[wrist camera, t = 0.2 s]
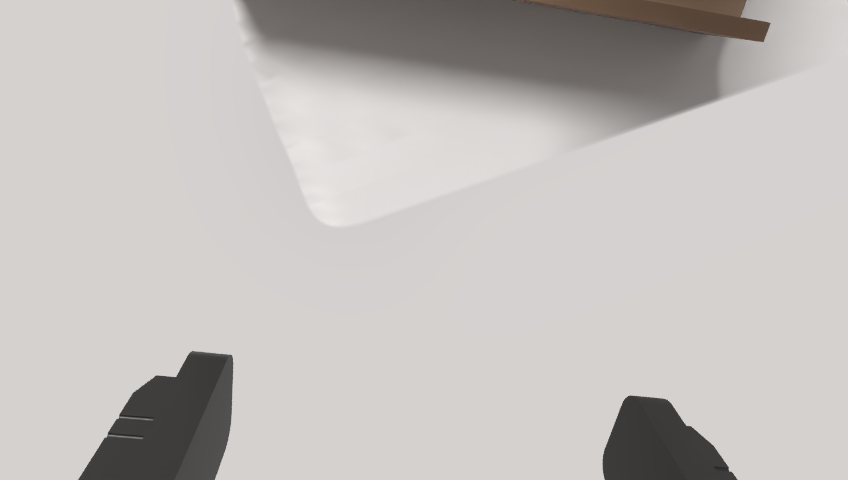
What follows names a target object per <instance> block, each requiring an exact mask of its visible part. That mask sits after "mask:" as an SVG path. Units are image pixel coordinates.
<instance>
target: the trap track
mask: <svg viewBox="0 0 848 480" xmlns="http://www.w3.org/2000/svg"><path fill="white" fill-rule="evenodd" d="M515 1H520V2H526V3H532V4H537V5H543V6H549V7H554V8H560V9H566V10H571V11H577V12H583V13H589V14H594V15H600V16H606V17H611V18H617V19H623V20H628V21H634V22H640V23H645V24H651V25H657V26H662V27H668V28H674V29H679V30H685V31H691V32H696V33H702V34H708V35H715V36H723V37H730V38H737V39H745V40H752V41H760V42H764V39H765V36H766V34H767V31H768V28H769V26H770V23H768V22H763V21H757V20H752V19H746V18H741V14H742V11H743V9H744V6H745V3H746V0H515Z"/></svg>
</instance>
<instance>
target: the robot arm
mask: <svg viewBox="0 0 848 480" xmlns="http://www.w3.org/2000/svg"><path fill="white" fill-rule="evenodd" d="M232 380H233V358H232V355H225V354H215V353H205V352H194V351H192V352H191V353H190V354H189V355H188V356H187V358H186V360H185V362H184V364H183V366H182V367H181V369H180V371H179V373H178V375H177V377H167V376H155V377H154V378H153V379H151V380H150V381H149V382H147V383H146V384H145V385H143V386H142V387H141V388H139V389H138V390H137V391H136V392H134V393H133V394H132V396H131V397H130V399H129V401H128V402H127V404H126V405H125V407H124V409H123V410H122V412H121V413H120V415H119V419H117V420H116V421H115V423H114V424H113V426H112V427H111V429H110V431H109V432H108V436H107V438H104V440H103V442H102V443H101V445H100V446H99V448H98V450H97V451H96V453H95V454H94V456H93V457H92V459H91V461H90V462H89V464H88V465H87V467H86V468H85V470H84V472H83V473H82V475H81V476H80V478H79V480H215V477H216V474H217V472H218V469H219V466H220V463H221V460H222V458H223V455H224V452H225V449H226V445H227V441H228V437H229V431H230V425H231V413H232V412H231V411H232V382H233V381H232ZM728 468H729V467H728V466H727V464H726V463H725V462H724V460H723V459H722V457H721V456H720V455H719V453H718V452H717V450H716V449H715V447H714V446H713V445H712V444H711V443H709V442H708V441H707V440H706V439H705V438H704V437H702V436H701V435H700V434H699V433H698V432H697V431H696V430H694V429H693V428H692V427H691V426H686V425H685V424H684V422H683V421H682V419H681V418H680V416H679V415H678V413H677V412H676V410H675V409H674V407H673V406H672V404H671V403H670V402H669V401H668V400H666V399H660V398H650V397H640V396H628V397H627V398H626V399H625V400H624V401H623V403H622V406H621V408H620V411H619V414H618V416H617V419H616V422H615V424H614V427H613V429H612V432H611V435H610V437H609V440H608V443H607V445H606V448H605V451H604V455H603V473H604V478H605V480H737V479H736V477H735V476H734V474H733V473H732V472H729V470H728Z"/></svg>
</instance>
